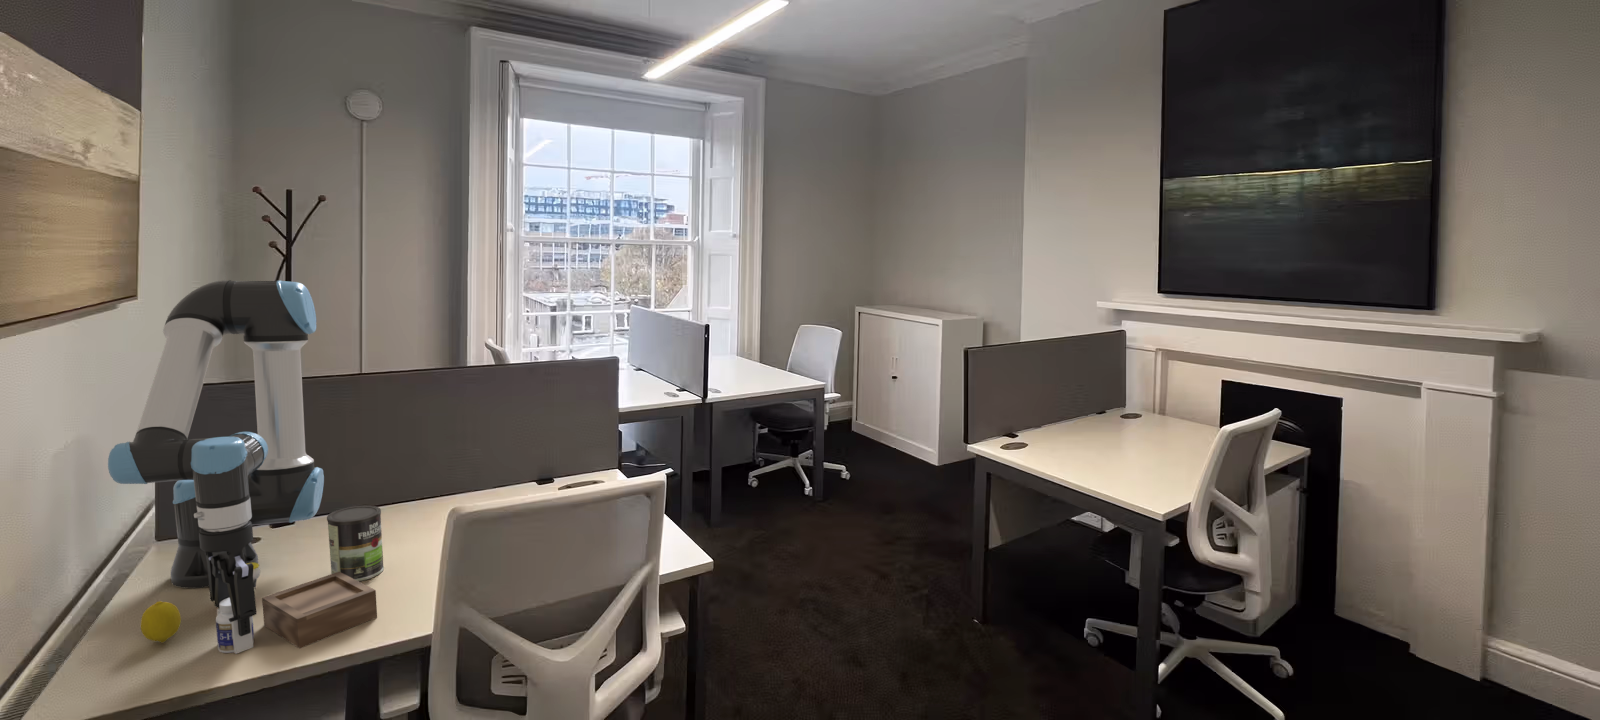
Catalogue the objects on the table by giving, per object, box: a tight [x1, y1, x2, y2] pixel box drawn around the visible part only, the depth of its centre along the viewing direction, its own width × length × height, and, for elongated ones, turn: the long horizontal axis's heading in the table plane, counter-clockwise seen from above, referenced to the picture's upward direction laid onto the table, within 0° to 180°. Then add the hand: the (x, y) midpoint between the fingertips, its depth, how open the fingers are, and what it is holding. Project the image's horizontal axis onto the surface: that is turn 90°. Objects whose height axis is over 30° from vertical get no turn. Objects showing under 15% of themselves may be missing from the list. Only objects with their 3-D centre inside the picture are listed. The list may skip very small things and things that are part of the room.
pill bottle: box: [215, 598, 255, 654], centre depth 133 cm, size 5×5×9 cm
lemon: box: [140, 600, 182, 643], centre depth 133 cm, size 6×6×8 cm
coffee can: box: [326, 505, 385, 582], centre depth 163 cm, size 10×10×14 cm
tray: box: [261, 572, 378, 650], centre depth 143 cm, size 14×14×6 cm
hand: (236, 644), depth 134 cm, fingers closed on pill bottle, 5 cm apart
